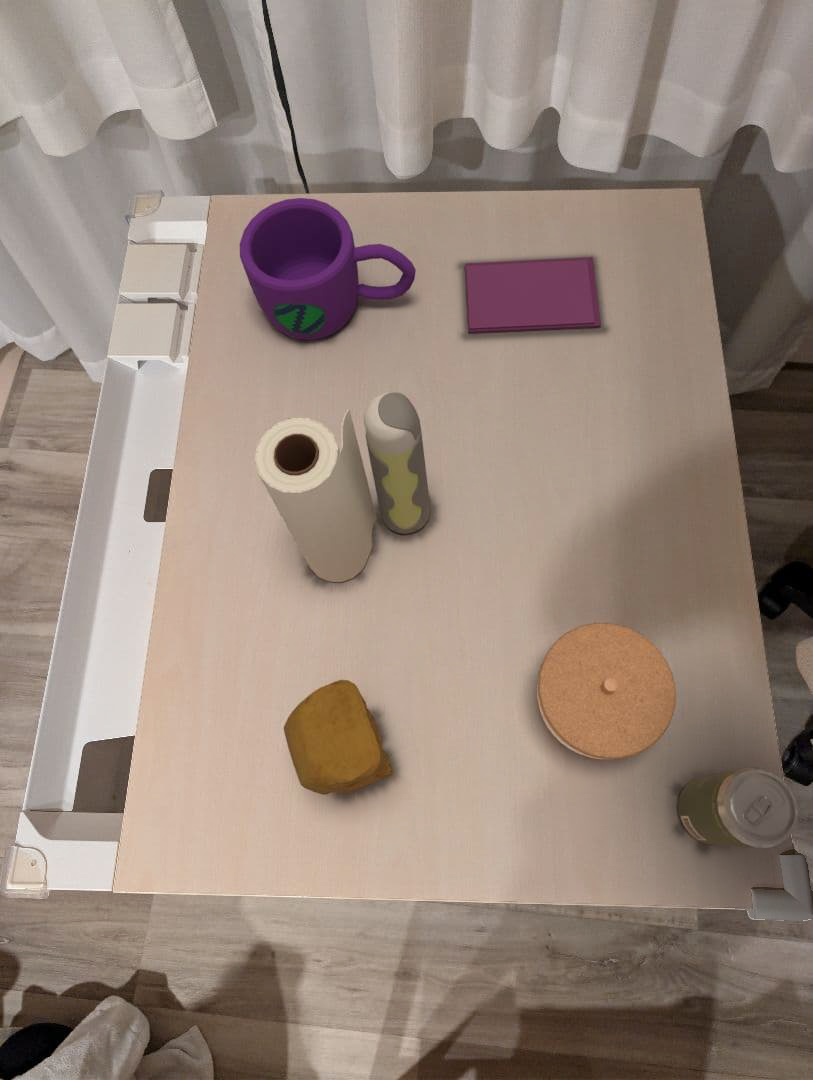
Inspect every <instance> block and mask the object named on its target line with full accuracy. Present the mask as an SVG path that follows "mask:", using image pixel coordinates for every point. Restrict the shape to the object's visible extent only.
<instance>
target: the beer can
mask: <svg viewBox="0 0 813 1080" xmlns="http://www.w3.org/2000/svg"><path fill="white" fill-rule="evenodd" d="M677 810H678V817H679V820H680V822H681V824H682V826H683V828H684V829H685V830H686V831H687V833H688V834H689V835H690V836H691V837H692V838H694V839H695V840H697V841H698V842H700V843H703V844H705V845H708V846H720V847H739V848H740V847H741V848H756V849H757V848H761V849H763V848H764V849H769V848H773V847H776V846H778V845H780V844H781V843H783V842H784V841H785V840H786V839H787V838H789V837H790V836H791V835H792V834H793V833H794V831H795V829H796V827H797V825H798V821H799V814H800V812H799V811H800V810H799V805H798V801H797V798H796V796H795V794H794V792H793V789H792V788H791V787H790V786H789V785H788V783H786V781H785V780H783V778H781V777H779V776H778V775H776V774H775V773H773V772H770V771H768V770H765V769H763V768H760V767H742V768H737V769H733V770H728V771H723V772H719V773H714V774H709V775H705V776H701V777H697V778H695V779H692V780H691V781H689V783H686V785H685V786H684V787H683V789H682V790H681V792H680V794H679V797H678V801H677Z"/></svg>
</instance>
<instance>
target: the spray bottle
mask: <svg viewBox="0 0 813 1080" xmlns="http://www.w3.org/2000/svg"><path fill="white" fill-rule="evenodd" d="M363 412H364V413H363V424H364V430H365V434H364V436H365V442H366V446H367V453H368V457H369V463H370V467H371V472H372V477H373V482H374V483H373V484H374V487H375V492H376V497H377V502H378V507H379V512H380V513H379V514H380V517H381V520H382V522H383V524H384V525H385V526H386V527H387V528H388V529H389V530H391V531H393V532H395V533H397V534H402V535H403V534H404V535H405V534H412V533H415V532H418V531H419V530H421V529H422V528H423V527H424V526H425V525H426V524H427V522H428V521H429V519H430V516H431V502H430V501H431V500H430V495H429V494H430V493H429V492H430V491H429V485H428V476H427V475H428V474H427V468H426V460H425V451H424V450H425V449H424V443H423V442H424V441H423V433H422V426H421V421H420V417H419V414H418V412H417V410H416V407H415V406H414V405H413V403H412V402H411V400H410V399H409V398H408V397H407V396H406V395H405V394H403V393H401V392H396V391H385V392H382V393H380V394H377V395H376V396H375V397H373V398H371V400H370V401H369V402H368V404H367V405H366V407H365V409H364V411H363Z"/></svg>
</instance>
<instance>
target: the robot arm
mask: <svg viewBox="0 0 813 1080" xmlns="http://www.w3.org/2000/svg"><path fill="white" fill-rule="evenodd" d="M795 662H796V666H797V669H798V671H799V673H800V674H801V676H802V679H803V680H804V681H805V684H806V685H807V687H808V688H809V691H810V693H811V695H812V696H813V636H810V637H806V638H805V639H802V640H801V641H799V642H798V643H796V646H795ZM809 741H810V743H811V745H812V746H813V738H811V739H809Z"/></svg>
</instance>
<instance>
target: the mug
mask: <svg viewBox="0 0 813 1080" xmlns="http://www.w3.org/2000/svg"><path fill="white" fill-rule="evenodd" d="M376 259H382V260H385V261H387V262H389V263H391V264H392V265H393V266H395V267H396V268H397V269H398V270H399V271H401V273H402V274H401V276H400V278H399V280H398V281H397V282H396V283H395V284H392V285H387V286H374V285H368V284H365V283H360V281H359V269H358V262H364V261H368V260H376ZM239 260H240V261H241V264H242V267H243V269H244V272H245V274H246V277H247V280H248V282H249V285H250V288H251V291H252V293H253V294H254V297H255V299H256V301H257V303H258V305H259V307H260V309H261V311H262V312H263V313H264V315H265V317H266V318H267V320H268V321H269V322H270V324H271V325H272V326H273V327H274V328H275V329H277V330H278V331H279V332H281V333H283V334H284V335H286V336H288V337H291V338H294V339H298V340H308V341H309V340H317V339H318V340H319V339H322V338H325V337H328V336H331V335H333V334H334V333H336V332H338V331H339V330H341V329H342V328H343V327H344V326H345V325H346V324H347V323H348V322H349V320H350V319H351V318H352V315H353V314H354V312H355V310H356V308H357V305H358V299H359V297H360V298H363V299H366V300H374V301H383V300H393V299H396V298H399V297H402V296H404V295H405V294H406V293H407V292H408V291H409V290H410V289H411V287H412V286H413V284H414V281H415V279H416V272H417V270H416V267H415V265H414V264H413V262H412V261H411V260H410V259H409V258H408V256H406V255H405V254H404V253H402V252H401V251H400V250H397V249H396V248H394V247H393V246H390V245H386V244H383V243H374V244H373V243H372V244H367V245H366V244H365V245H361V246H356V245H355V239H354V234H353V231H352V229H351V226H350V224H349V221H348V220H347V218H346V217H345V216H344V215H343V214H342V213H341V211H340V210H338V209H337V208H335V207H334V206H332V205H330V204H329V203H327V202H324V201H322V200H318V199H316V198H304V197H296V198H288V199H283V200H280V201H277V202H273V203H271V204H270V205H268V206H266V207H264V208H262V209H260V211H259V212H258V213H257V214H255V215H254V216H253V217H252V218H251V219H250V220H249V222H248V224H246V226H245V228H244V229H243V231H242V235H241V238H240V242H239Z"/></svg>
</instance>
